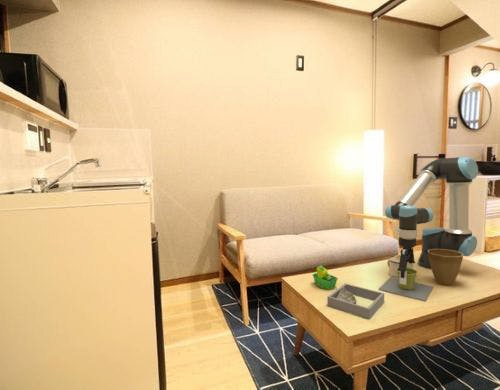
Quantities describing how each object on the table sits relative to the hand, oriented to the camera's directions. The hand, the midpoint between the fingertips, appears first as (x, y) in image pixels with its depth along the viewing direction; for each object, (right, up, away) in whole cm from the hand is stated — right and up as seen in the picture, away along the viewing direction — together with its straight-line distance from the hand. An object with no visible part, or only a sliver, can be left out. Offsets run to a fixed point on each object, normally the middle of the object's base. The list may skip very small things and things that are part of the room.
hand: (406, 279), depth 139 cm
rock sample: (-35, -7, -14) cm, 38 cm away
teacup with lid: (+5, -3, +19) cm, 20 cm away
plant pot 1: (0, -4, 0) cm, 4 cm away
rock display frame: (-30, -6, -14) cm, 34 cm away
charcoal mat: (0, -5, 0) cm, 4 cm away
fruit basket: (-39, -5, +6) cm, 40 cm away
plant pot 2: (+23, -4, +7) cm, 24 cm away
